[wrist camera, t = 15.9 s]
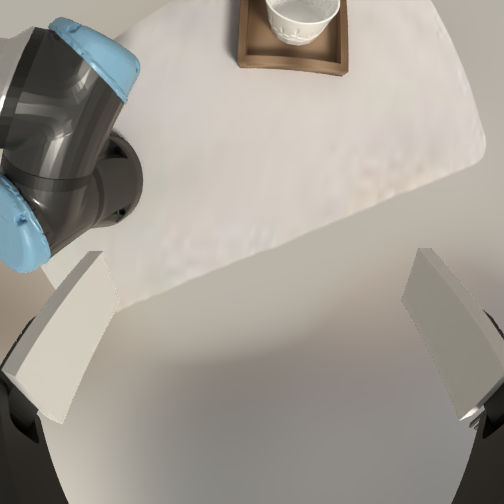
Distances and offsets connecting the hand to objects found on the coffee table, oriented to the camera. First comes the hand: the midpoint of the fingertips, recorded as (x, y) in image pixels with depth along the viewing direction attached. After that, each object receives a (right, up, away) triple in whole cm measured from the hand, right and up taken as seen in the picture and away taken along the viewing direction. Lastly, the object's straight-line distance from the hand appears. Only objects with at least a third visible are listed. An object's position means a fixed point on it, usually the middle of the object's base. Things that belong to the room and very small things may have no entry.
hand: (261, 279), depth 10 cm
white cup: (+5, +32, +16) cm, 36 cm away
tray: (+5, +32, +17) cm, 36 cm away
